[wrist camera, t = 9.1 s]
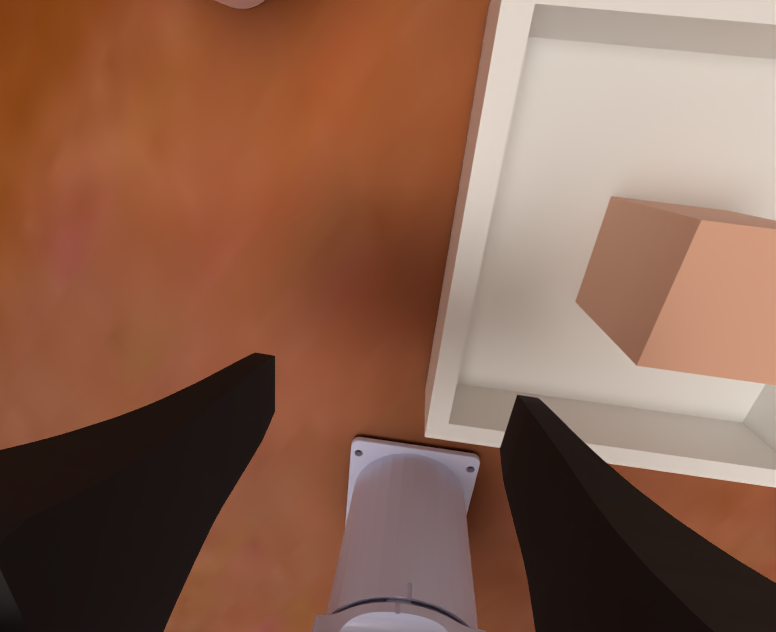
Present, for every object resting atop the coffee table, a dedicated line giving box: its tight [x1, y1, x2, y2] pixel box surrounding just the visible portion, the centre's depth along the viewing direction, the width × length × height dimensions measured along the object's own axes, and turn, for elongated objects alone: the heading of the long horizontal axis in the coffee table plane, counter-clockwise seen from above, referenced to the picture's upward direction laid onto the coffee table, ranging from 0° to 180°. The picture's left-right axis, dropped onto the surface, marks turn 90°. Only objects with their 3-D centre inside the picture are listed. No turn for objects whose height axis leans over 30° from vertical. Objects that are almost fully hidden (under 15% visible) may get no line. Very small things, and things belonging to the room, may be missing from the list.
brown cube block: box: [575, 196, 776, 385], centre depth 15 cm, size 5×5×6 cm
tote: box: [425, 0, 776, 487], centre depth 16 cm, size 18×18×4 cm
